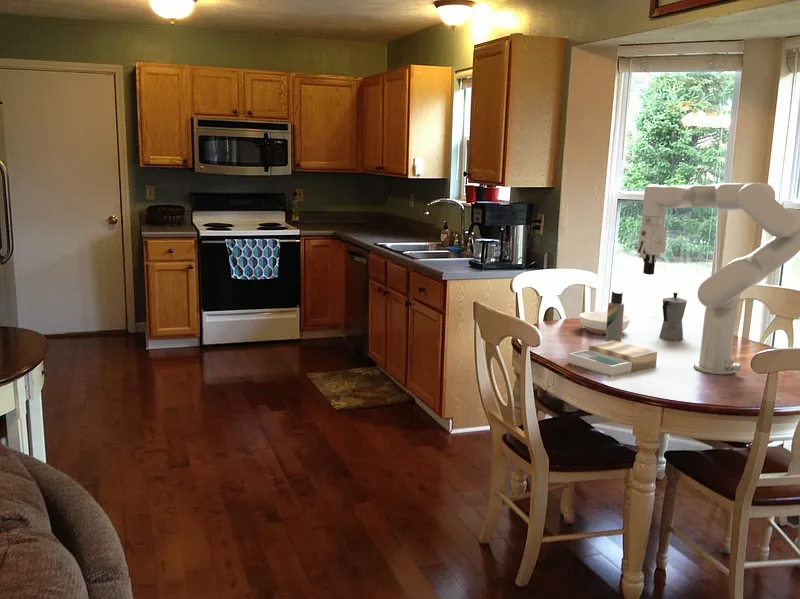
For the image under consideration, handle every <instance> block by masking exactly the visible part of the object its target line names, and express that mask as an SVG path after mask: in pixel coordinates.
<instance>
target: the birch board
mask: <svg viewBox="0 0 800 599" xmlns="http://www.w3.org/2000/svg"><path fill="white" fill-rule="evenodd" d="M588 350H592V351H595V352H599V353H602V354H606V355H610V356H613V357H617V358H620V359H624V360H627V361H631V362H632V368H631V372H630V373H633V372H637V371H642V370H646V369H649V368H654V367H656V366H657V358H658V351H655V350H652V349H648V348H644V347H640V346H636V345H632V344H630V343H629V344H628V343H625V342H622V341H621V342H618V341H614V340H612V341H607V342H605V341H602V342H599V343H593V344H589V347H588Z"/></svg>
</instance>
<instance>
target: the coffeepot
mask: <svg viewBox="0 0 800 599" xmlns="http://www.w3.org/2000/svg"><path fill="white" fill-rule="evenodd" d="M672 294H673V297H664V298H662V317H663V321H662V325H661V328H660V329H661V330H660V332H659V338H660V339H662V338H663V340H666V339H667V340H666V341H675V340H677V341H683V339H684V331H683V330H684V329H683V318H684V316H685V315H684V314H685V311H686V306H687V304H688V300H686V299H685V298H679V297H678V294H679V293H677V292H673V293H672Z"/></svg>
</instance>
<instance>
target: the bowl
mask: <svg viewBox="0 0 800 599" xmlns="http://www.w3.org/2000/svg"><path fill="white" fill-rule="evenodd" d="M607 315H608V311H585V312H582V313H579V321H580V324H581V325H582V327H584V328H585V329H586V330H587V331H588V332H590V333H592V332H593V334H596V333H598V334H597V335H602V334H606V327H607ZM630 320H631V319H630V317H629V316H627V315H625V314H623V325H622V332H623V331H625V330H626V329H627V328H628V327H629V324H630Z"/></svg>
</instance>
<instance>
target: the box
mask: <svg viewBox="0 0 800 599" xmlns="http://www.w3.org/2000/svg"><path fill="white" fill-rule="evenodd" d="M581 353H585V354H589V355H592V356H595V360H592V359H589V358H585V357H582V356H578V355H576V354H581ZM597 356H600V357H603V358H607V359H610V360H612V361H614V362H616V363H618V364H616V365H609V364H606V363H602V362H599V361H596V358H597ZM568 363H570V364H569V365H571V364H574V365H573V366H575V365H577V366H576V367H578V366H580V367H579V368H581V367H583V368H582V369H584V368H586V369H585V370H587V369H589V370H588V371H591V370H593V371H592V372H594V371H596V372H595V373H597V372H599V373H598V374H600V373H602V374H601V375H604V374H605V375H604V376H607V375H608V377H610V376H611V377H610V378H613V377H612V376H614V377H617V376H616V375H618V376H622V375H624V374H625V373H626V374H630V373H632V372H631V368H632V362H631V361H627V360H624V359H620V358H617V357H613V356H610V355H606V354H602V353H599V352H595V351H592V350H589V349H583V350H579V351H573V352H569V353H568V358H567V364H568ZM621 374H622V375H621Z"/></svg>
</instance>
